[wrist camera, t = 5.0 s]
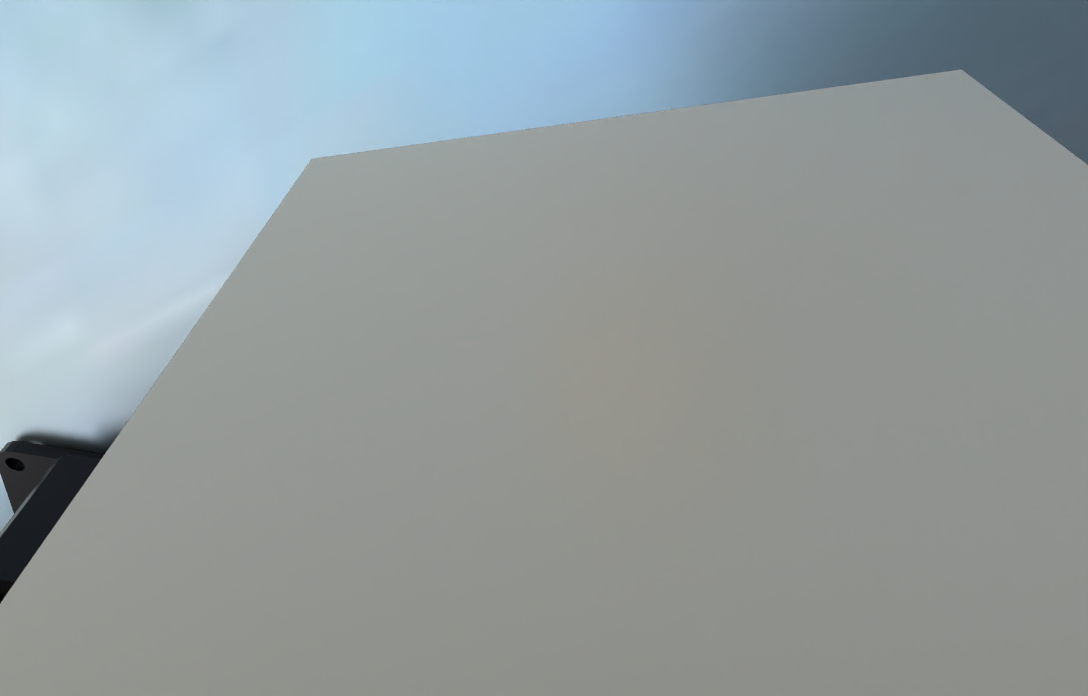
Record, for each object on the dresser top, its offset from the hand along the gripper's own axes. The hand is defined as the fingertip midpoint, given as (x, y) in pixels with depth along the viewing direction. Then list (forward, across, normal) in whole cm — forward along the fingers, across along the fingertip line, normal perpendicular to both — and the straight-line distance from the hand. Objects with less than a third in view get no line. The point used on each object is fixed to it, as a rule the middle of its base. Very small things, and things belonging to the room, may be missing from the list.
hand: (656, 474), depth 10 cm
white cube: (+2, 0, 0) cm, 2 cm away
